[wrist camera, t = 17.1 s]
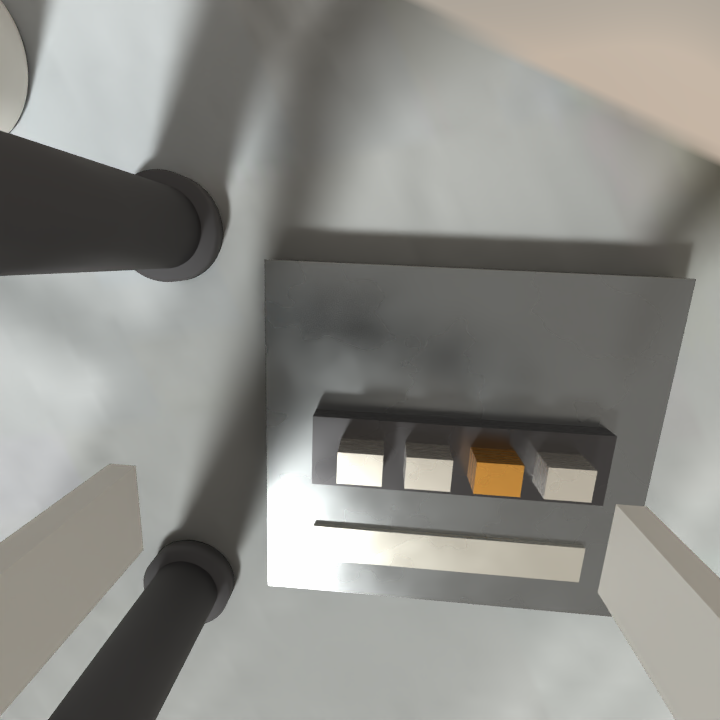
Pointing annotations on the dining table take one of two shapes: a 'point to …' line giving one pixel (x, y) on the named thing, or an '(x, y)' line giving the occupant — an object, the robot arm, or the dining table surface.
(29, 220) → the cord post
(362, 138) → the dining table surface
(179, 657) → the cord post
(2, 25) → the mug
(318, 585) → the breaker panel
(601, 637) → the dining table surface
